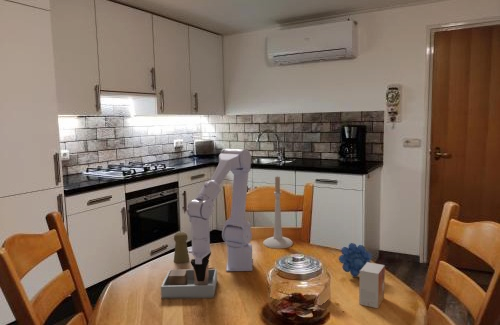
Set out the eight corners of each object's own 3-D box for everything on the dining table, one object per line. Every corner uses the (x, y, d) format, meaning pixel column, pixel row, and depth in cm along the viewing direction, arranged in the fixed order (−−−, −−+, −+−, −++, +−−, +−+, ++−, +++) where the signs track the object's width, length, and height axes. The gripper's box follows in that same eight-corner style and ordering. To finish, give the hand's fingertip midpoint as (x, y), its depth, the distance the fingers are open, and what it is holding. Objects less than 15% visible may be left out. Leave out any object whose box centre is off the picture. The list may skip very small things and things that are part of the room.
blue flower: (342, 282, 131) (342, 247, 129) (336, 274, 137) (337, 241, 136) (376, 281, 131) (377, 246, 130) (369, 273, 138) (370, 240, 136)
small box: (377, 309, 113) (378, 274, 111) (358, 304, 116) (359, 270, 114) (384, 298, 119) (385, 264, 118) (366, 293, 122) (366, 261, 121)
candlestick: (278, 237, 180) (277, 172, 176) (298, 243, 170) (298, 175, 167) (257, 243, 172) (256, 175, 168) (277, 250, 162) (277, 179, 158)
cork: (191, 257, 156) (190, 230, 154) (187, 263, 150) (186, 235, 148) (176, 257, 156) (175, 230, 155) (171, 263, 150) (170, 235, 149)
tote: (217, 280, 134) (216, 268, 134) (213, 297, 121) (213, 285, 121) (169, 280, 134) (169, 269, 134) (161, 298, 121) (160, 286, 121)
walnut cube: (187, 284, 130) (186, 269, 129) (185, 290, 125) (184, 275, 125) (172, 284, 130) (171, 269, 129) (169, 291, 125) (168, 276, 125)
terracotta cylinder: (209, 280, 130) (209, 259, 129) (207, 286, 125) (207, 265, 124) (195, 280, 130) (194, 259, 129) (192, 286, 125) (192, 265, 124)
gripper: (191, 230, 133) (192, 268, 134) (184, 244, 118) (186, 287, 120) (212, 229, 133) (213, 268, 134) (207, 243, 118) (209, 286, 120)
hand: (201, 277), depth 127 cm, fingers closed on terracotta cylinder, 5 cm apart
